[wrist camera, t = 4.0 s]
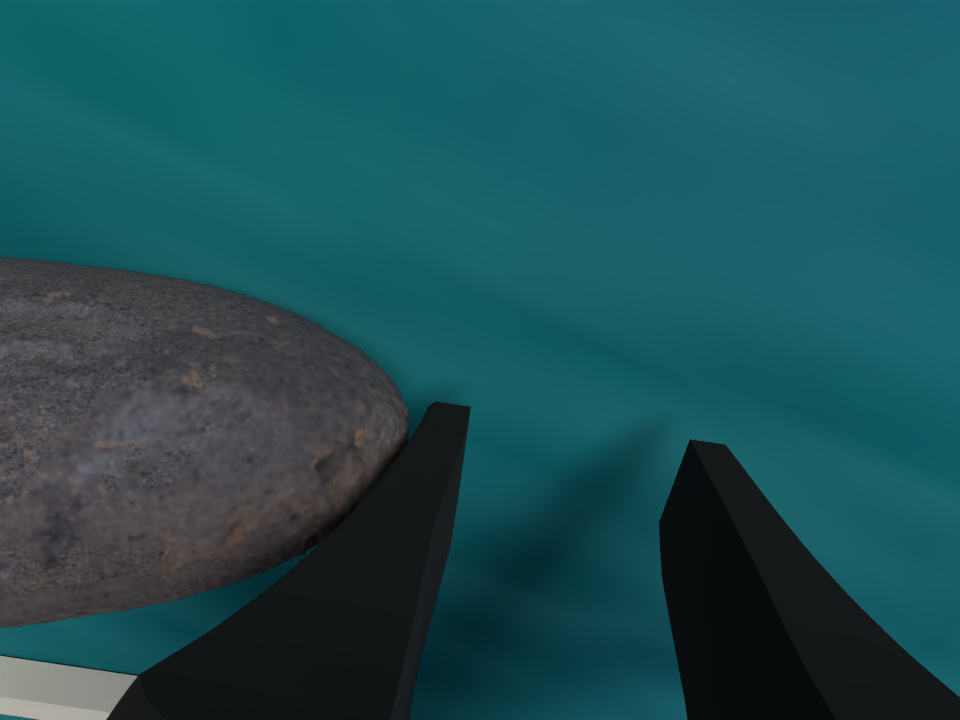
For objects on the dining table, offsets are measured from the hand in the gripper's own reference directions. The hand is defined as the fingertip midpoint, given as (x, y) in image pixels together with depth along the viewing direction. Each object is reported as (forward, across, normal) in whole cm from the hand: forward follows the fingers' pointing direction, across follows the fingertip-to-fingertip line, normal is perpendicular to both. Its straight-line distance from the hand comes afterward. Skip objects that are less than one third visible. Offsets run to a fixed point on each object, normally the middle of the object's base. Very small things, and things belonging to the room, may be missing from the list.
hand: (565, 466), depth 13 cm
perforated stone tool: (+3, +10, 0) cm, 11 cm away
